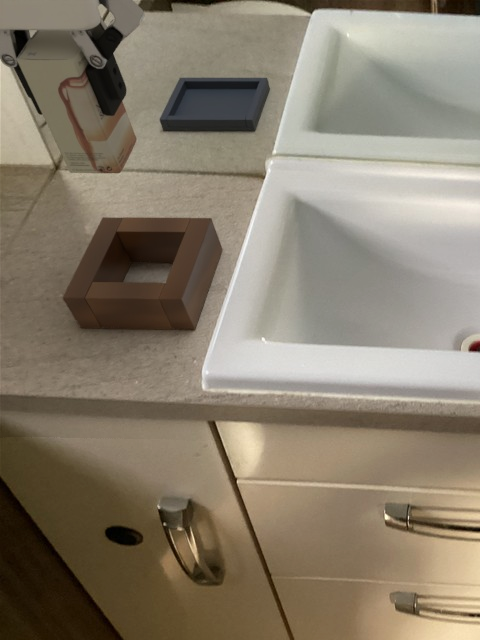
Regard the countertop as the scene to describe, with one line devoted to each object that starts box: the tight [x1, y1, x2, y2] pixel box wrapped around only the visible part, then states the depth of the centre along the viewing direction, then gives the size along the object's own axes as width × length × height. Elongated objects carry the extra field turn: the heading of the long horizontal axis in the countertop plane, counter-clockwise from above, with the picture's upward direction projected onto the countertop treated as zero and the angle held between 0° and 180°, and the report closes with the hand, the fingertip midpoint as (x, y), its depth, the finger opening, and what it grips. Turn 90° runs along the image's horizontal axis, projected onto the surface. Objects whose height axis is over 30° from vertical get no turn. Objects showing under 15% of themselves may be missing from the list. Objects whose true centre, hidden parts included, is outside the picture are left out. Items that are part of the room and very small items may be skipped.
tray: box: [159, 77, 271, 132], centre depth 92 cm, size 11×9×2 cm
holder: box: [62, 216, 223, 331], centre depth 73 cm, size 10×10×4 cm
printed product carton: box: [17, 30, 138, 174], centre depth 62 cm, size 5×4×10 cm
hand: (82, 103), depth 62 cm, fingers closed on printed product carton, 4 cm apart
